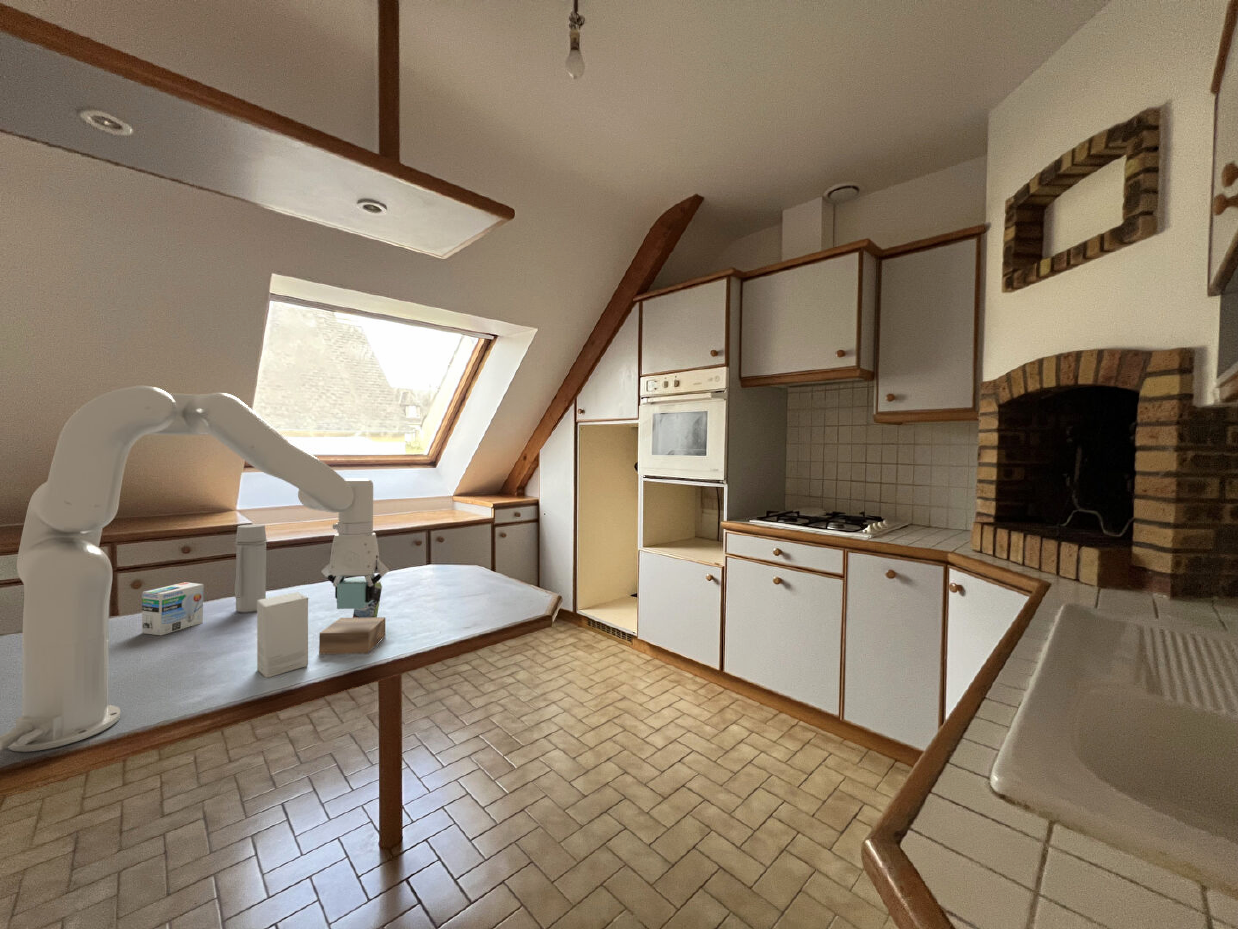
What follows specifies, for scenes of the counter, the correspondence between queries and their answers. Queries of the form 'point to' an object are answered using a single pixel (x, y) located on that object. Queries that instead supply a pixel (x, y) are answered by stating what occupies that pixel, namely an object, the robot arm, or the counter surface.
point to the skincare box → (282, 634)
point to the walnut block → (352, 635)
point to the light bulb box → (172, 608)
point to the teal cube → (352, 594)
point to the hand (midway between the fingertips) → (355, 600)
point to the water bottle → (250, 567)
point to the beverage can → (370, 605)
